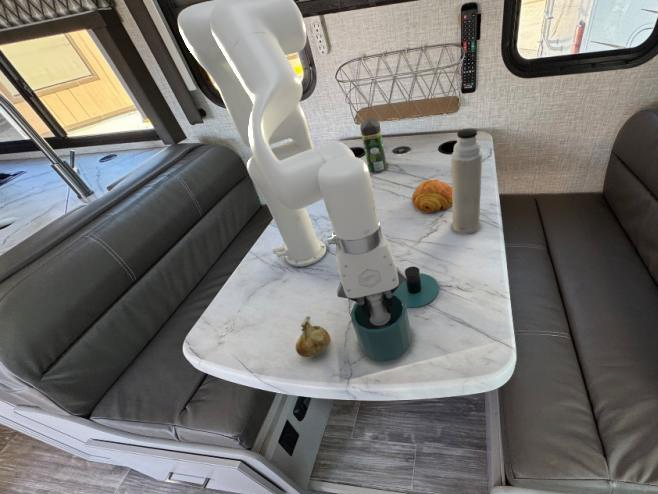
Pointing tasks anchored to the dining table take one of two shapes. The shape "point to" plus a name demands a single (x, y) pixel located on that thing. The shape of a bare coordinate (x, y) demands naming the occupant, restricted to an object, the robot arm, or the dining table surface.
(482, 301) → the dining table surface
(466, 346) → the dining table surface
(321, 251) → the robot arm
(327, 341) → the onion
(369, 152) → the coffee jar
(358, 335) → the canister
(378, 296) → the rook chess piece
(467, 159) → the thermos bottle
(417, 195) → the croissant
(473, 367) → the dining table surface
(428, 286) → the canister lid
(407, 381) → the dining table surface
